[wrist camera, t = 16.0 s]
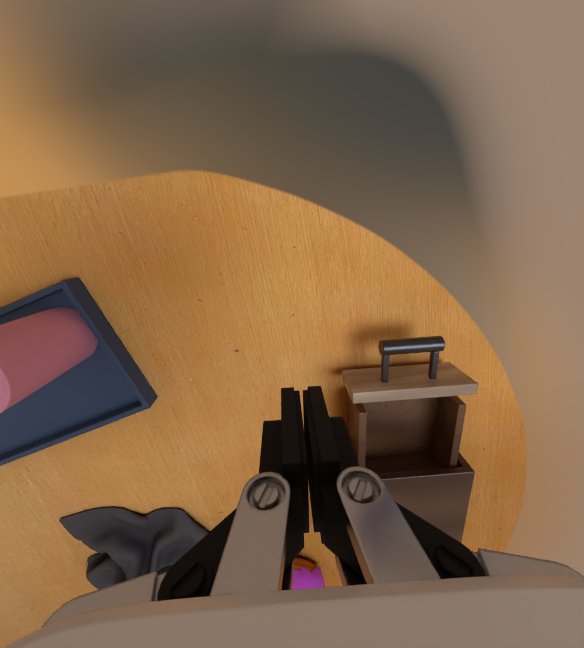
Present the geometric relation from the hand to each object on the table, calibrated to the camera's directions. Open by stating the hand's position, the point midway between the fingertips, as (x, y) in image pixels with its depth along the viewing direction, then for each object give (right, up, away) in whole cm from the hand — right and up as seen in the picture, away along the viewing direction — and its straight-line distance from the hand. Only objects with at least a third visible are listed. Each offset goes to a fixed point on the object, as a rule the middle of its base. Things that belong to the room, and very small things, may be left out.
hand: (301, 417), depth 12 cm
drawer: (+12, -5, +21) cm, 24 cm away
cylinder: (-24, +3, +17) cm, 30 cm away
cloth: (-22, -29, +28) cm, 46 cm away
